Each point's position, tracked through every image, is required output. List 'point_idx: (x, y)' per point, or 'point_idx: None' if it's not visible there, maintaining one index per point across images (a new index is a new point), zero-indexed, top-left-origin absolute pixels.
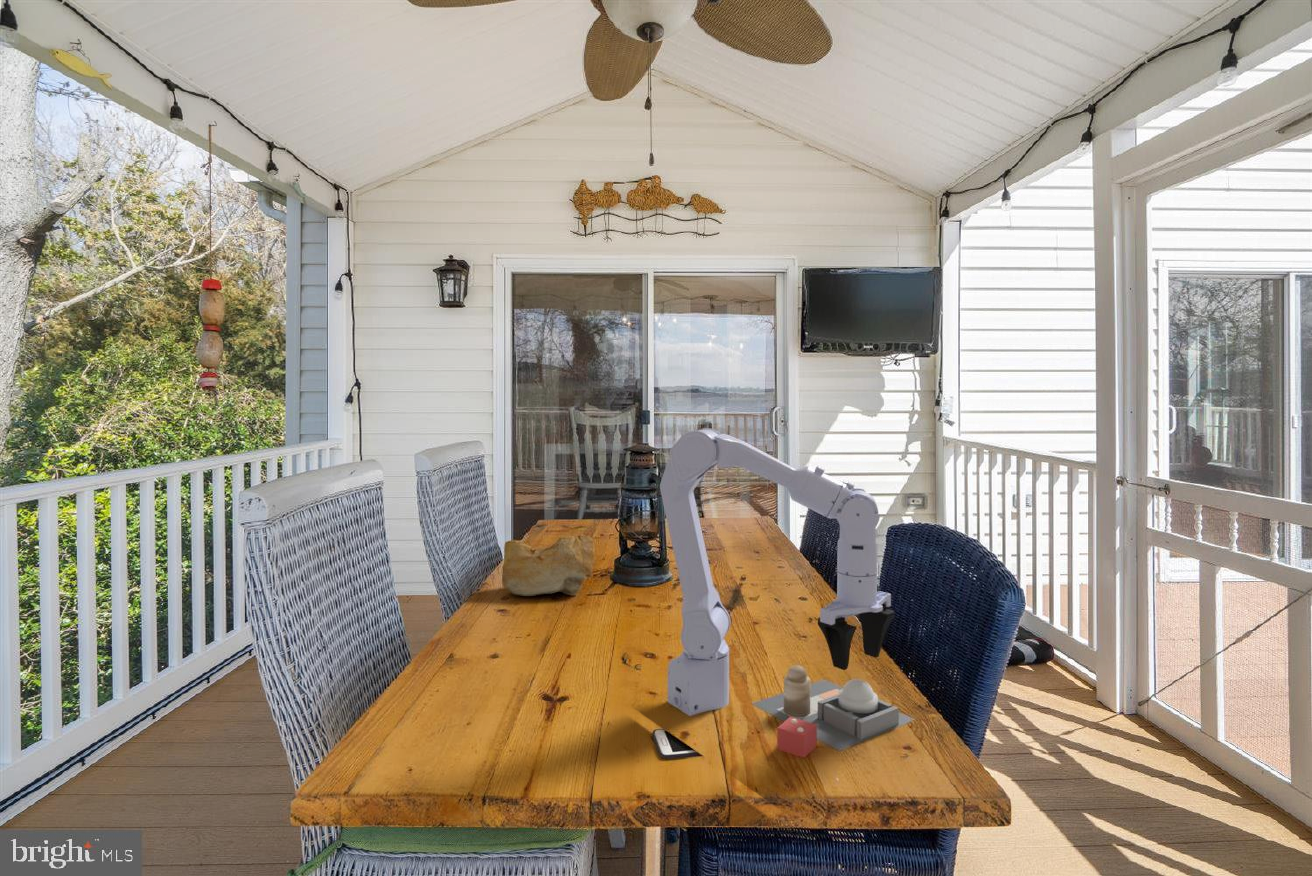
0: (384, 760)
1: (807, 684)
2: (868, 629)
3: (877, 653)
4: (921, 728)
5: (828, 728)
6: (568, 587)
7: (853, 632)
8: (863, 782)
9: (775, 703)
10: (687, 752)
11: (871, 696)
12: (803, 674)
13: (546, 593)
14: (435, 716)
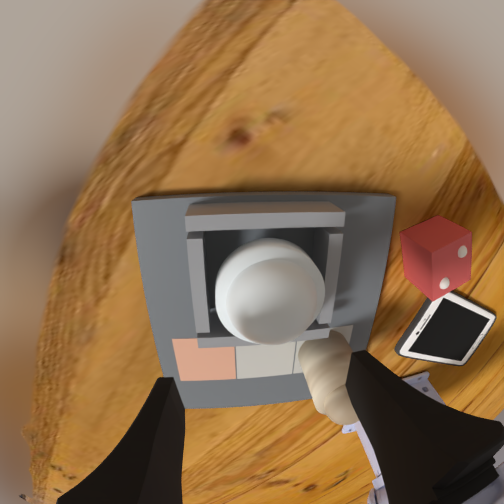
0: None
1: (346, 375)
2: (173, 483)
3: (167, 387)
4: (131, 183)
5: (339, 274)
6: None
7: (448, 445)
8: (415, 116)
9: None
10: (486, 312)
11: (267, 266)
12: None
13: None
14: (488, 414)
